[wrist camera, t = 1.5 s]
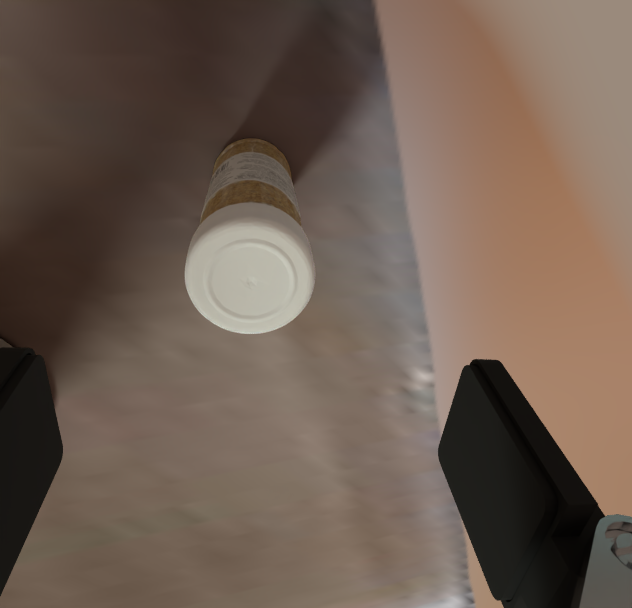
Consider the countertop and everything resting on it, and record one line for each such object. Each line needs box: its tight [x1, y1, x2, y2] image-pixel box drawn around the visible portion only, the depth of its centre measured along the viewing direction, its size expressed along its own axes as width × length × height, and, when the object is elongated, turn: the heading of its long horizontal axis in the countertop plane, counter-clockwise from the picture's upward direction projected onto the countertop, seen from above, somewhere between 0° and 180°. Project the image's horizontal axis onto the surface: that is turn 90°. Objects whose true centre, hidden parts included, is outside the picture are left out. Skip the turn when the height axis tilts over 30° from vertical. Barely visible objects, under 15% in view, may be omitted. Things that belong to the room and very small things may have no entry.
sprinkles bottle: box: [185, 138, 315, 334], centre depth 23 cm, size 5×5×13 cm
